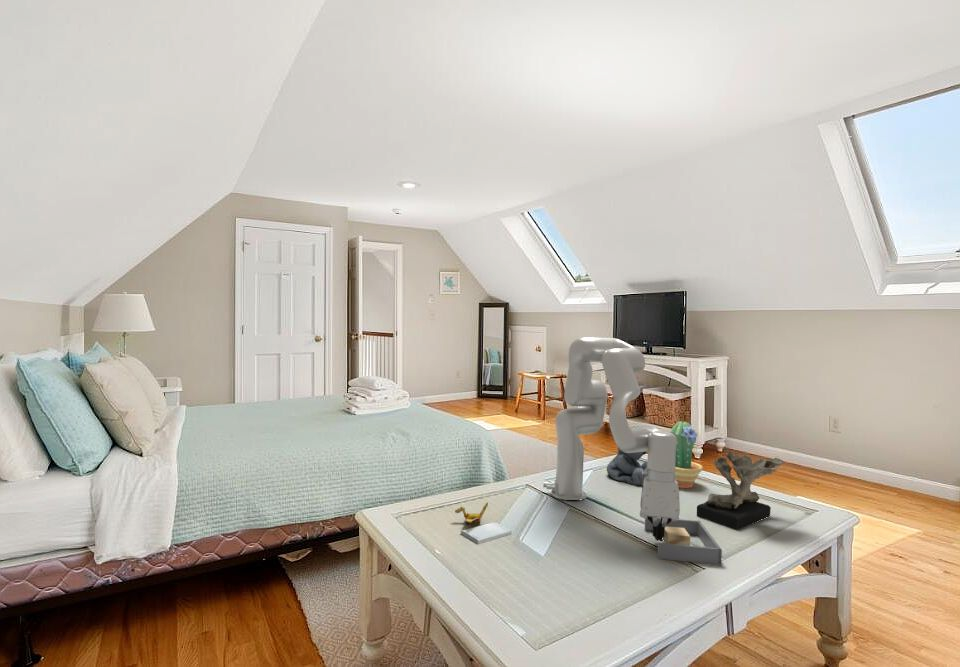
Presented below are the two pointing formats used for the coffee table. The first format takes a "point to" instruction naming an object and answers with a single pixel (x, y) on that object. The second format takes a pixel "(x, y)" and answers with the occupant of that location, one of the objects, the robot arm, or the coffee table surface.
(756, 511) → the coral
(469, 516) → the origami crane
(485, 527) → the hard drive
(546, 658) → the coffee table surface
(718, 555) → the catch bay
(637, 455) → the koala plush
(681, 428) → the potted cactus
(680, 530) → the wooden block
